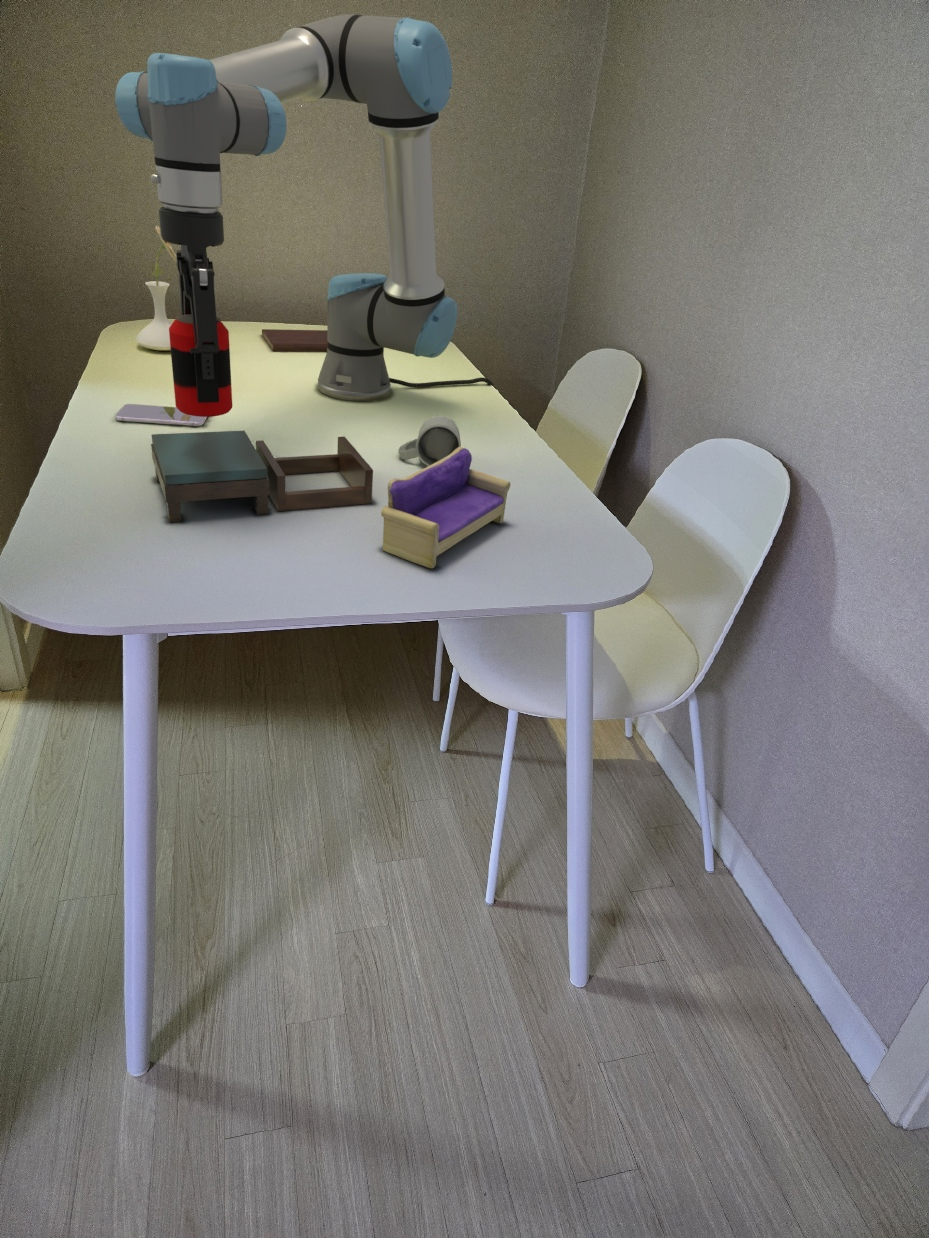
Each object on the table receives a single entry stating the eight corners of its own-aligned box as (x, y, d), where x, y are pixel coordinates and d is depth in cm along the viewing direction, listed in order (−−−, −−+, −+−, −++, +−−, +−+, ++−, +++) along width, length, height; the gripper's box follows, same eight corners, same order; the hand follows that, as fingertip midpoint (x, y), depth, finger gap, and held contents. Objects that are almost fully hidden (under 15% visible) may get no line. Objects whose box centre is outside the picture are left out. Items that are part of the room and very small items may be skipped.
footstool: (247, 472, 127) (245, 429, 123) (270, 514, 115) (269, 469, 111) (154, 478, 121) (149, 433, 117) (168, 523, 109) (163, 475, 105)
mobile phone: (124, 402, 145) (209, 408, 147) (125, 407, 145) (209, 413, 147) (113, 415, 138) (202, 421, 140) (113, 421, 139) (202, 427, 141)
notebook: (261, 335, 199) (261, 327, 198) (338, 336, 206) (338, 328, 205) (273, 351, 188) (272, 343, 187) (354, 352, 195) (354, 343, 194)
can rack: (343, 467, 132) (344, 436, 129) (371, 503, 122) (373, 469, 119) (256, 473, 127) (255, 440, 124) (277, 511, 116) (277, 476, 113)
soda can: (218, 420, 107) (212, 329, 101) (165, 412, 108) (156, 320, 102) (241, 405, 114) (237, 318, 107) (191, 397, 114) (184, 310, 108)
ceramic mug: (458, 453, 143) (461, 412, 139) (458, 470, 136) (462, 427, 132) (399, 449, 143) (401, 407, 139) (397, 466, 136) (399, 422, 132)
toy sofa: (430, 572, 105) (436, 502, 100) (377, 551, 109) (381, 482, 103) (506, 523, 121) (516, 459, 115) (458, 505, 124) (465, 443, 119)
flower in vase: (180, 357, 176) (170, 233, 163) (128, 351, 175) (114, 226, 162) (198, 343, 187) (190, 226, 174) (149, 337, 187) (137, 220, 173)
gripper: (149, 195, 104) (165, 371, 116) (169, 217, 88) (185, 417, 100) (208, 199, 107) (218, 370, 119) (238, 222, 91) (246, 415, 103)
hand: (203, 392), depth 110 cm, fingers closed on soda can, 8 cm apart
